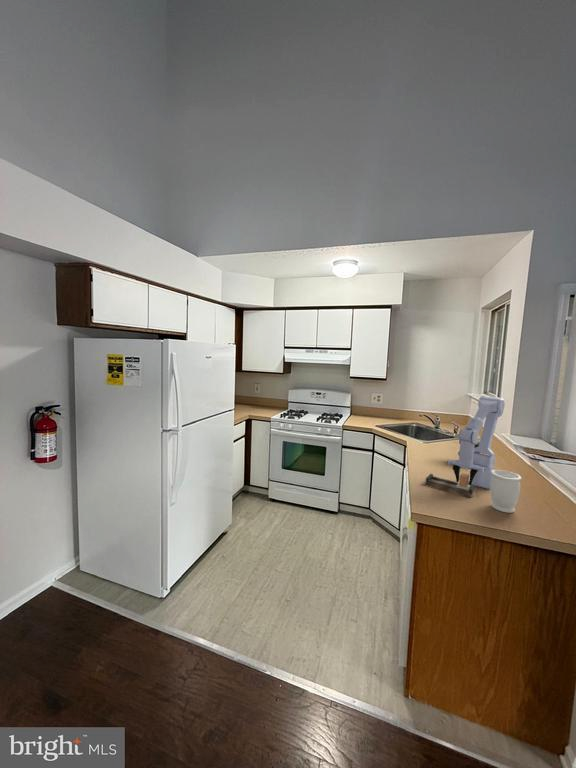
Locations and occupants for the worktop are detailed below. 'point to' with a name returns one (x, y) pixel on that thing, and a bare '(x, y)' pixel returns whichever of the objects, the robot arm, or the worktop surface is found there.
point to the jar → (504, 490)
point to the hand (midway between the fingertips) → (463, 483)
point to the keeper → (464, 482)
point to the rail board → (448, 486)
